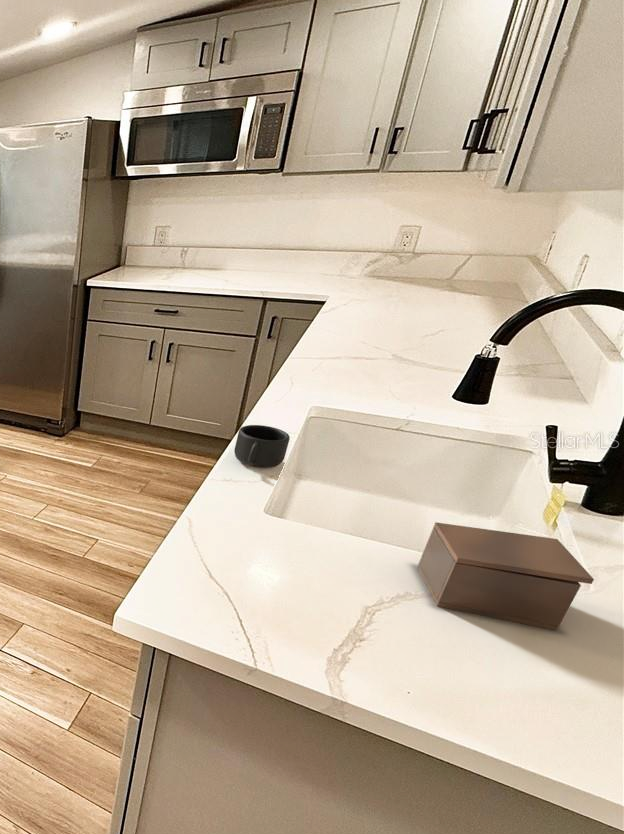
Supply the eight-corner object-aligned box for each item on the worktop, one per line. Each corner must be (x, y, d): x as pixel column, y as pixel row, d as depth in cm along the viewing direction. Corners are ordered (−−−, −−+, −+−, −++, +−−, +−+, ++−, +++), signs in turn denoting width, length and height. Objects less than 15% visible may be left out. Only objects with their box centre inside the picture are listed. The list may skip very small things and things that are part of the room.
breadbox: (524, 587, 93) (546, 544, 89) (556, 630, 84) (581, 585, 81) (416, 567, 98) (433, 526, 95) (436, 606, 90) (455, 562, 87)
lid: (555, 543, 89) (557, 538, 89) (591, 584, 81) (594, 579, 80) (433, 526, 95) (435, 522, 95) (455, 562, 87) (457, 558, 87)
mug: (239, 450, 139) (246, 421, 136) (286, 461, 133) (294, 431, 130) (222, 468, 132) (229, 438, 129) (272, 481, 126) (280, 450, 123)
